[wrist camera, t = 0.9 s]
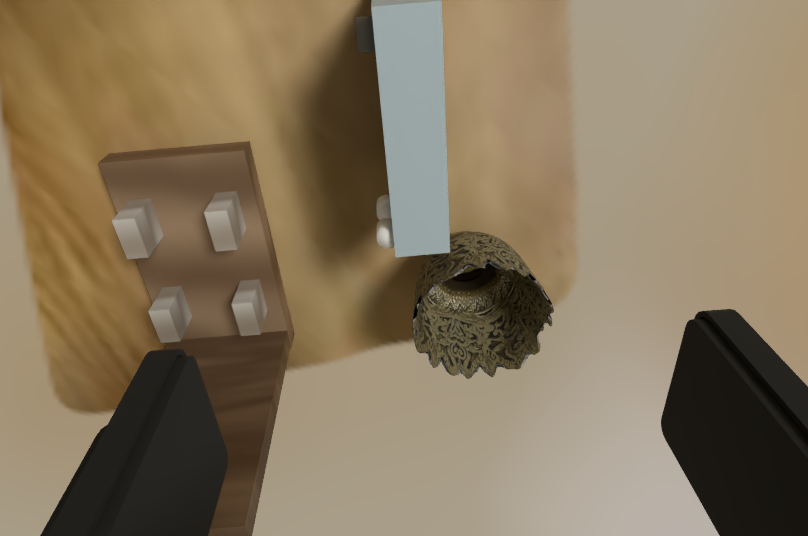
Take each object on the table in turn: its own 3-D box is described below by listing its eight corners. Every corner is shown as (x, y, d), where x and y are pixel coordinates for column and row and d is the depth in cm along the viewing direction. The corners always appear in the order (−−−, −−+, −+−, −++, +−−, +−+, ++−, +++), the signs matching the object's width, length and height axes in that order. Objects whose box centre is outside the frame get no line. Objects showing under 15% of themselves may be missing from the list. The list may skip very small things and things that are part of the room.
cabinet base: (109, 153, 31) (-86, 321, 18) (249, 141, 31) (157, 300, 18) (180, 343, 39) (80, 559, 25) (294, 333, 39) (251, 545, 25)
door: (356, -18, 27) (347, 8, 19) (420, -24, 27) (441, 0, 19) (376, 171, 32) (377, 258, 24) (430, 166, 32) (450, 252, 24)
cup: (491, 309, 38) (516, 392, 31) (390, 283, 37) (394, 364, 30) (539, 218, 35) (579, 290, 28) (430, 184, 33) (444, 251, 26)
